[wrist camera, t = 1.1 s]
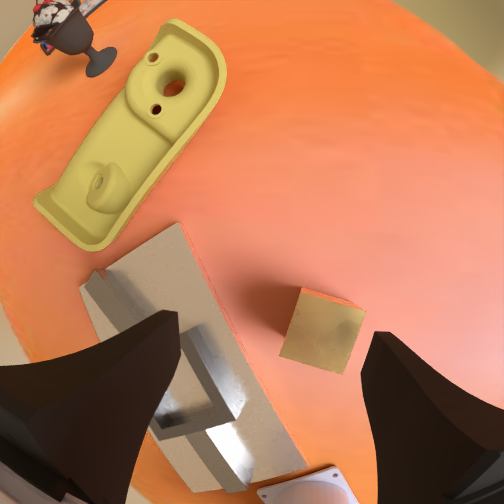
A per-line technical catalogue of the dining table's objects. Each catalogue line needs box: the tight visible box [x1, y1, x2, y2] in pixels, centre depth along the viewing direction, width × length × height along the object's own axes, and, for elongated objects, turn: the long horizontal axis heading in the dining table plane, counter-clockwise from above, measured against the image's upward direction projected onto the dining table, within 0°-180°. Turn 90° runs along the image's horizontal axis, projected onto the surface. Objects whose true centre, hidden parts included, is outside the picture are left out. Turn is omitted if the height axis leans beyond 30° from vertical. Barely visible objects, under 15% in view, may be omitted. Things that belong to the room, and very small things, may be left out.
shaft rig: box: [79, 222, 309, 494], centre depth 21 cm, size 23×12×3 cm, turn 28°
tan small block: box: [279, 287, 366, 374], centre depth 18 cm, size 4×4×5 cm
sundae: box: [31, 0, 117, 77], centre depth 20 cm, size 7×7×15 cm
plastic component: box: [33, 18, 227, 252], centre depth 23 cm, size 20×7×10 cm
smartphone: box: [40, 0, 107, 56], centre depth 30 cm, size 8×1×15 cm
